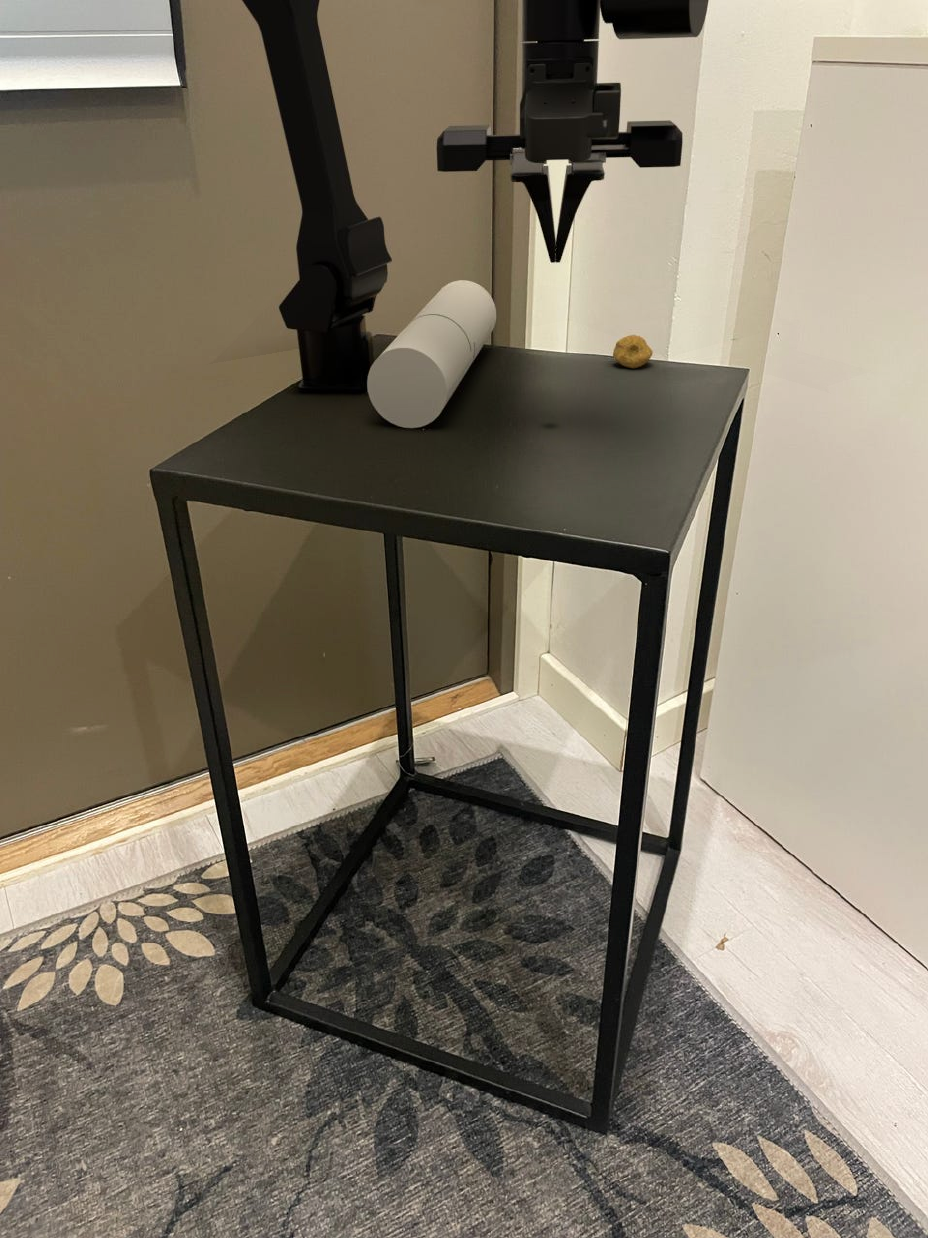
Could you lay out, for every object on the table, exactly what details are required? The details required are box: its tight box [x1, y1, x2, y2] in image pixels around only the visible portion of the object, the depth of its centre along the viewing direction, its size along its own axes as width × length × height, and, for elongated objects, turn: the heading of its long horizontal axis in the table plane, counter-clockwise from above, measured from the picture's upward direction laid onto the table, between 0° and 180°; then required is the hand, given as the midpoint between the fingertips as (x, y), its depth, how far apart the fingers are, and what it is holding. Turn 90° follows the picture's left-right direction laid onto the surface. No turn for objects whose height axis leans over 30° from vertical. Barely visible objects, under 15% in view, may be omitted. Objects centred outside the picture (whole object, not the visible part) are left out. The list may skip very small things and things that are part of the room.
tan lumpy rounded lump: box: [612, 334, 654, 369], centre depth 95 cm, size 4×4×3 cm
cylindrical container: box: [366, 279, 497, 429], centre depth 90 cm, size 7×7×25 cm
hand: (555, 261), depth 77 cm, fingers closed
